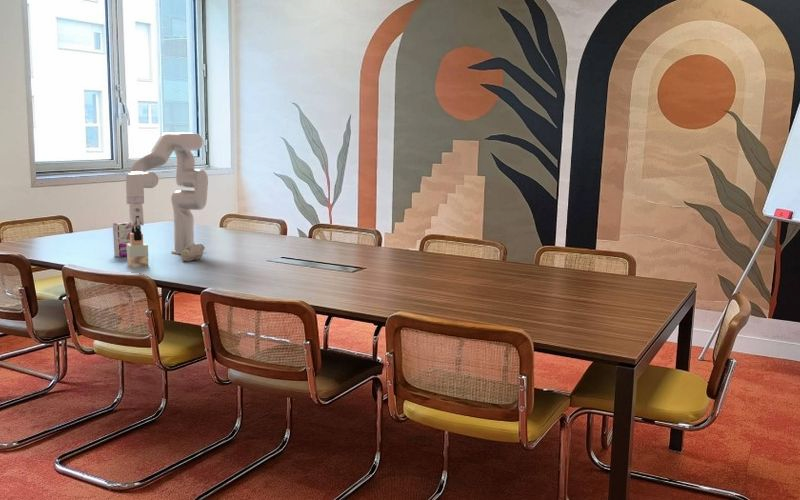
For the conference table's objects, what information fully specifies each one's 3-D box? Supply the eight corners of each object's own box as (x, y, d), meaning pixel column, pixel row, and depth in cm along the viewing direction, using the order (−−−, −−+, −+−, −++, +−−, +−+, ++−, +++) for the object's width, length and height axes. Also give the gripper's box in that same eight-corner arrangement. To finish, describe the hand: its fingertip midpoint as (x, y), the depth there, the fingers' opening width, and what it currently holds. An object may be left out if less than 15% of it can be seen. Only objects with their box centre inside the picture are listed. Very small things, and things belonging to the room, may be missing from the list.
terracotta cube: (141, 243, 362) (141, 232, 361) (143, 244, 358) (142, 233, 357) (130, 243, 360) (129, 232, 359) (131, 245, 356) (131, 234, 355)
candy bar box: (133, 253, 391) (132, 221, 388) (139, 254, 388) (138, 221, 385) (113, 256, 382) (112, 223, 379) (119, 257, 379) (118, 224, 376)
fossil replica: (175, 261, 373) (194, 265, 370) (175, 245, 371) (194, 248, 368) (189, 255, 384) (207, 259, 381) (189, 239, 382) (208, 242, 379)
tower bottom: (145, 263, 366) (145, 253, 365) (148, 266, 359) (148, 255, 358) (127, 264, 362) (127, 254, 361) (130, 267, 355) (129, 256, 354)
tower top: (144, 253, 365) (144, 242, 364) (148, 255, 358) (147, 245, 357) (126, 254, 361) (126, 243, 360) (130, 257, 354) (129, 246, 353)
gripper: (147, 202, 350) (148, 241, 353) (140, 198, 365) (142, 236, 368) (129, 202, 346) (130, 242, 349) (124, 198, 362) (125, 236, 365)
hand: (136, 238), depth 359 cm, fingers open, 6 cm apart
